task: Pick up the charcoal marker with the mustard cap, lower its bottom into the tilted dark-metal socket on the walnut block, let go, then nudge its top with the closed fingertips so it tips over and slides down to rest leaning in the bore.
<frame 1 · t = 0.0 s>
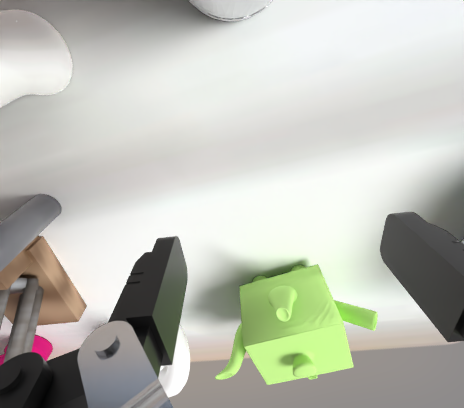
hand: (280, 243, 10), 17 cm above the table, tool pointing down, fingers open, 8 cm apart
white knot: (162, 327, 41), on the table
socket block: (32, 275, 34), on the table
kettle: (280, 285, 36), on the table
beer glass: (36, 55, 21), on the table
pepper mill: (33, 343, 42), on the table
marker: (47, 205, 29), on the table
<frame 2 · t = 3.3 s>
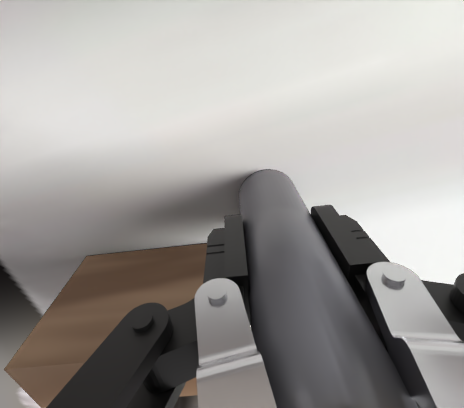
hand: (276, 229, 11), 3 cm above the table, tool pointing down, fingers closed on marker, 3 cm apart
socket block: (178, 327, 19), on the table
marker: (266, 195, 14), on the table, touching gripper
when the fingers open (12 cm above the table, at t = 7.8 s): marker drops 3 cm, resting on socket block.
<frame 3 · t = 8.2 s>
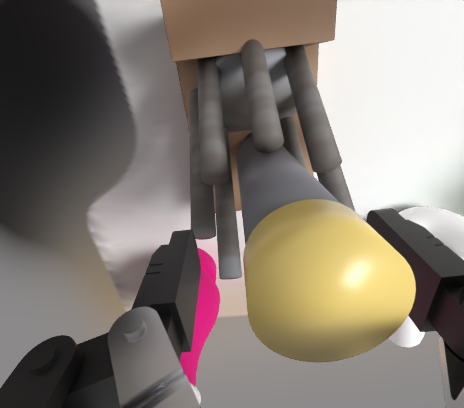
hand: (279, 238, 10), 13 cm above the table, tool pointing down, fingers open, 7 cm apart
white knot: (392, 237, 27), on the table
socket block: (249, 117, 20), on the table
pepper mill: (187, 266, 28), on the table
marker: (260, 159, 16), point 6 cm above the table, tilted 5°, touching socket block
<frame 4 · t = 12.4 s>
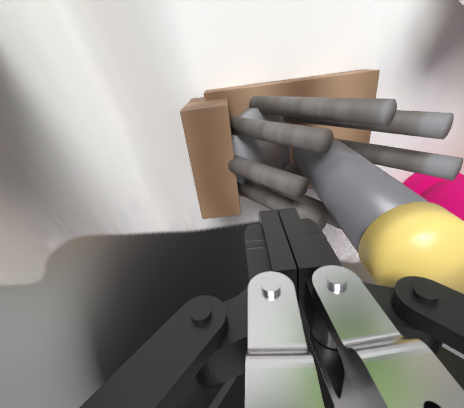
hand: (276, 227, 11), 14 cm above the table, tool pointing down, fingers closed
socket block: (279, 135, 23), on the table
pepper mill: (423, 192, 27), on the table
marker: (313, 151, 18), point 6 cm above the table
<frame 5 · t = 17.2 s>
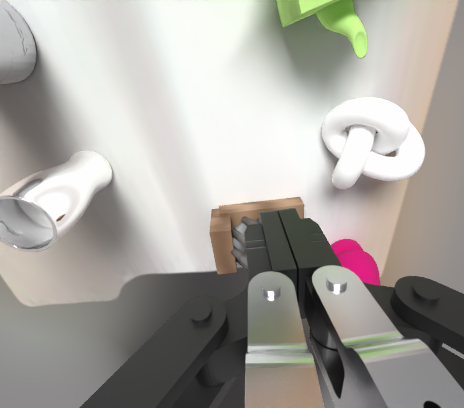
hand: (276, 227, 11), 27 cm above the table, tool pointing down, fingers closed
white knot: (349, 131, 36), on the table
socket block: (258, 225, 43), on the table
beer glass: (92, 169, 38), on the table
pepper mill: (342, 251, 47), on the table
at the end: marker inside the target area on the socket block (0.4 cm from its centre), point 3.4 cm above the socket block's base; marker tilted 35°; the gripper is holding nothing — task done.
